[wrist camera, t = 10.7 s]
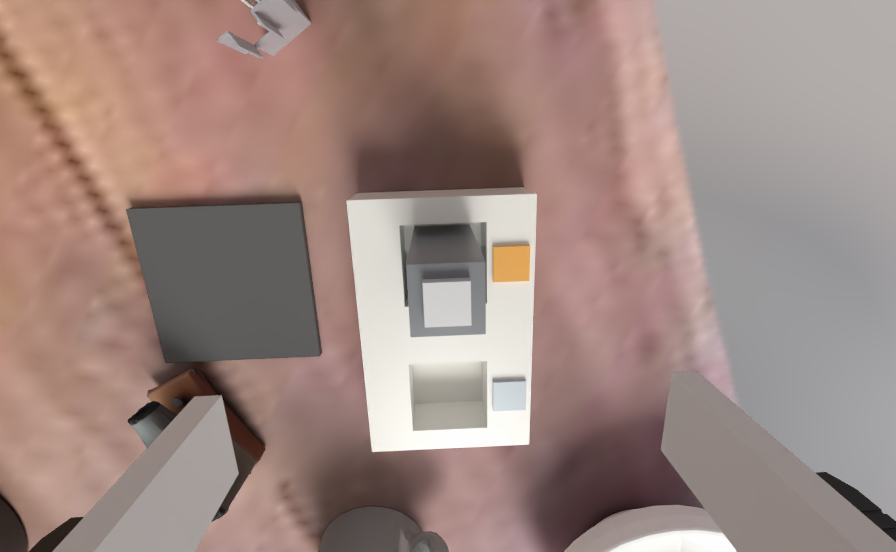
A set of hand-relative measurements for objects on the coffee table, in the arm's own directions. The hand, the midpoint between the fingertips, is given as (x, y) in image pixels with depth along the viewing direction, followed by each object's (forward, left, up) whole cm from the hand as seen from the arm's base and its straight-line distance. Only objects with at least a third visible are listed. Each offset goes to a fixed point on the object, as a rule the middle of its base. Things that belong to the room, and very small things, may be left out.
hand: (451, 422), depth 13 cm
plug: (0, 0, -20) cm, 20 cm away
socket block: (0, -5, -21) cm, 21 cm away
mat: (-16, -2, -21) cm, 26 cm away
